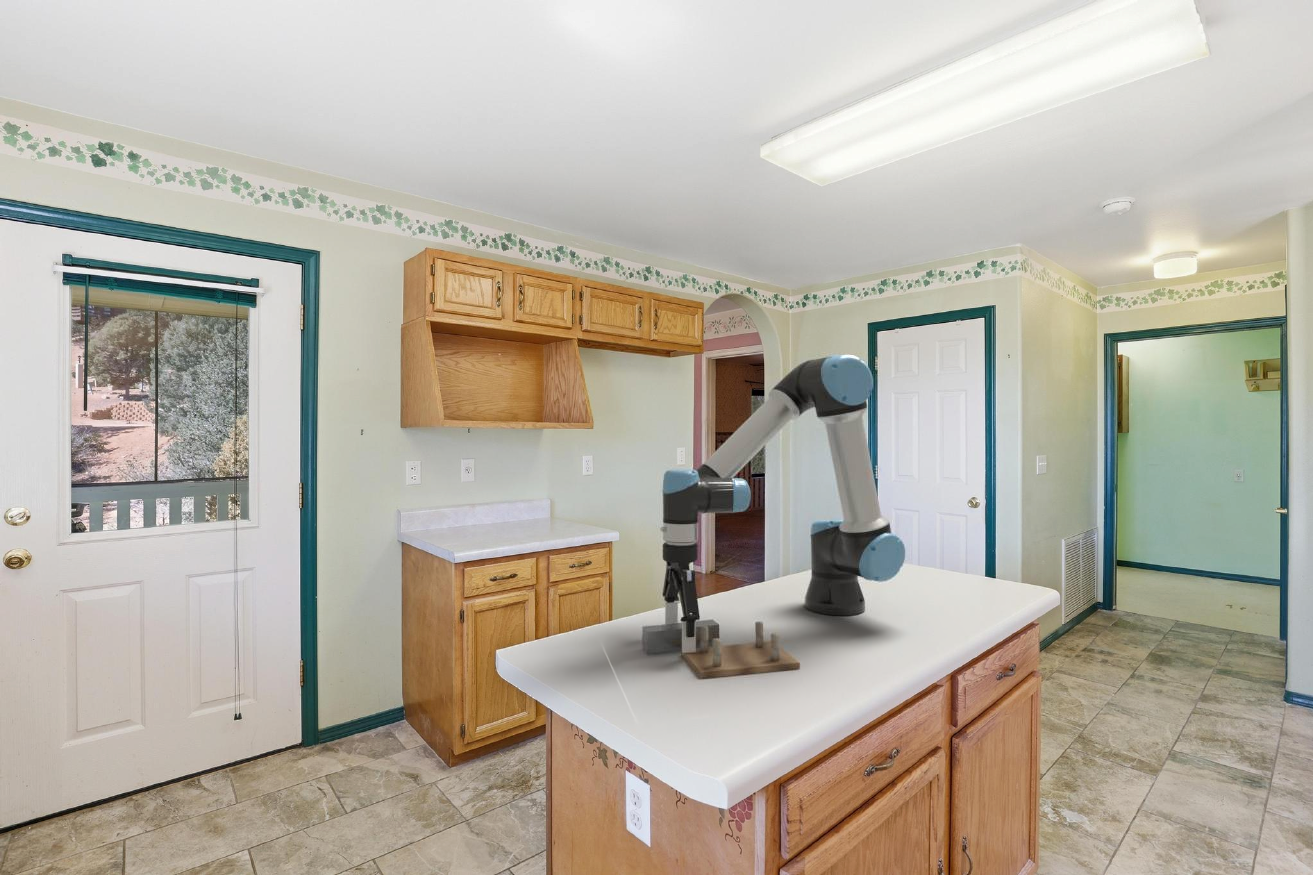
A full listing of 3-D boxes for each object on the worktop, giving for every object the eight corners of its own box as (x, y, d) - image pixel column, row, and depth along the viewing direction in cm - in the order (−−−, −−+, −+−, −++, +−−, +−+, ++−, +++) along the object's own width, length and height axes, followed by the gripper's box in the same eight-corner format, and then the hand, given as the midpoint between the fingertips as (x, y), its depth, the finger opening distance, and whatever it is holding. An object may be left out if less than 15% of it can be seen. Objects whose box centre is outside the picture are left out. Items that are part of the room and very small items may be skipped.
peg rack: (772, 646, 137) (772, 617, 137) (799, 668, 124) (799, 636, 124) (682, 655, 132) (682, 625, 132) (700, 678, 120) (700, 645, 120)
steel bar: (712, 642, 141) (712, 619, 141) (719, 647, 138) (719, 624, 137) (642, 650, 137) (642, 626, 137) (647, 656, 133) (647, 632, 133)
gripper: (649, 533, 148) (649, 625, 148) (679, 553, 124) (678, 662, 124) (681, 532, 150) (680, 623, 150) (716, 551, 126) (715, 659, 126)
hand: (679, 641), depth 137 cm, fingers open, 13 cm apart
